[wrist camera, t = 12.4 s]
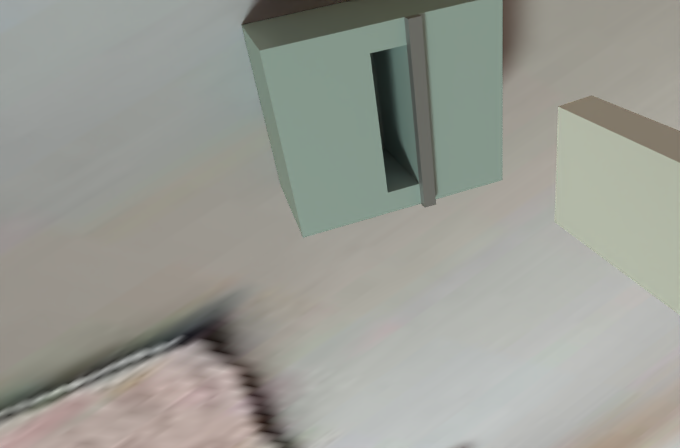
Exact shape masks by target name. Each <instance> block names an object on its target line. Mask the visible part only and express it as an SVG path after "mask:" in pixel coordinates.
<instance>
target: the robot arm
mask: <svg viewBox="0 0 680 448" xmlns="http://www.w3.org/2000/svg"><path fill="white" fill-rule="evenodd" d="M555 223H557V224H558V225H559V226H561V227H562V228H563V229H565V230H566V231H567V232H569V233H570V234H571V235H573V236H574V237H575V238H577V239H578V240H579V241H581V242H582V243H583V244H585V245H586V246H587V247H589V248H590V249H592V250H593V251H594V252H596V253H597V254H598V255H600V256H601V257H602V258H604V259H605V260H606V261H608V262H609V263H610V264H612V265H613V266H614V267H616V268H617V269H618V270H620V271H621V272H622V273H624V274H625V275H626V276H628V277H629V278H631V279H632V280H633V281H635V282H636V283H637V284H639V285H640V286H641V287H643V288H644V289H645V290H647V291H648V292H649V293H651V294H652V295H653V296H655V297H656V298H657V299H659V300H660V301H661V302H663V303H664V304H665V305H667V306H668V307H670V308H671V309H672V310H674V311H675V312H676V313H678V314H679V315H680V131H678V130H676V129H673V128H671V127H668V126H666V125H663V124H661V123H659V122H656V121H654V120H651V119H649V118H646V117H644V116H641V115H639V114H636V113H634V112H631V111H629V110H626V109H624V108H621V107H619V106H616V105H614V104H611V103H609V102H606V101H604V100H602V99H599V98H597V97H594V96H589V97H586V98H583V99H580V100H577V101H574V102H571V103H567V104H564V105H561V106H558V129H557V161H556V194H555Z"/></svg>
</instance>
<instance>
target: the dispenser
mask: <svg viewBox="0 0 680 448" xmlns="http://www.w3.org/2000/svg"><path fill="white" fill-rule="evenodd" d="M242 29H243V34H244V38H245V42H246V46H247V50H248V54H249V58H250V62H251V66H252V70H253V74H254V78H255V83H256V87H257V91H258V95H259V99H260V103H261V107H262V111H263V115H264V119H265V123H266V127H267V131H268V136H269V140H270V144H271V148H272V152H273V156H274V160H275V164H276V168H277V172H278V176H279V180H280V184H281V187H282V190H283V192H284V194H285V197H286V199H287V201H288V204H289V206H290V208H291V211H292V213H293V215H294V217H295V220H296V222H297V224H298V227H299V229H300V231H301V234H302V236H303V237H307V236H310V235H314V234H317V233H321V232H324V231H328V230H331V229H335V228H338V227H341V226H345V225H348V224H352V223H355V222H359V221H362V220H366V219H369V218H373V217H376V216H379V215H383V214H386V213H390V212H393V211H397V210H400V209H404V208H407V207H411V206H414V205H418V204H422V205H423V206H424V207H428V206H432V205H435V204H436V199H438V198H442V197H445V196H449V195H452V194H456V193H459V192H462V191H466V190H469V189H473V188H476V187H480V186H483V185H487V184H490V183H494V182H497V181H501V180H502V45H503V0H351V1H347V2H342V3H338V4H333V5H329V6H324V7H320V8H315V9H311V10H306V11H302V12H298V13H293V14H289V15H284V16H280V17H275V18H271V19H266V20H262V21H257V22H253V23H248V24H244V25H242Z"/></svg>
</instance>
